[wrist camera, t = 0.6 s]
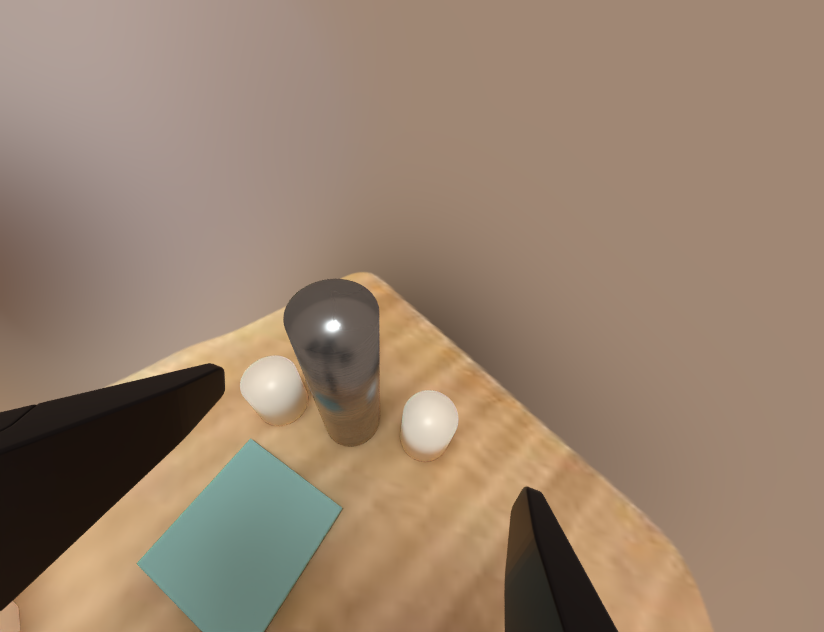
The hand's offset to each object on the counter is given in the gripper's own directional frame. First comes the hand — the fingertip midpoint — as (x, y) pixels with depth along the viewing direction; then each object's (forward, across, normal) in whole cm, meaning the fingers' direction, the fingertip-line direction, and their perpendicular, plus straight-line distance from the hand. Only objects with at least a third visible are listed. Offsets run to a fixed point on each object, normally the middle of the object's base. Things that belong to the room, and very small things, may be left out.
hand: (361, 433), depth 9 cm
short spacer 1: (+10, +9, +12) cm, 18 cm away
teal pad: (+3, +6, +15) cm, 17 cm away
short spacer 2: (+12, -2, +11) cm, 16 cm away
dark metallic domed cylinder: (+11, +4, +11) cm, 16 cm away
